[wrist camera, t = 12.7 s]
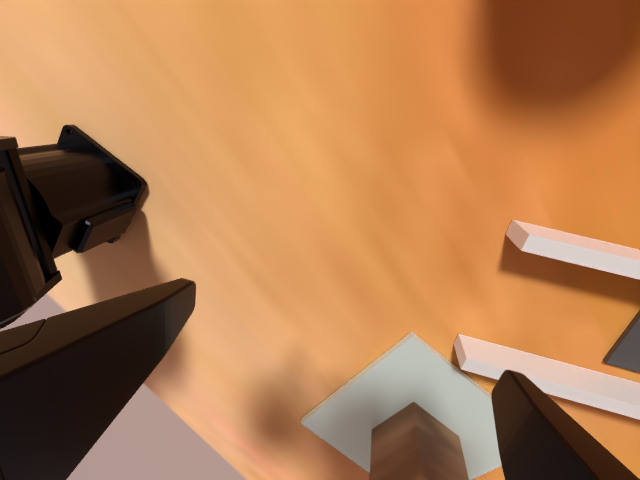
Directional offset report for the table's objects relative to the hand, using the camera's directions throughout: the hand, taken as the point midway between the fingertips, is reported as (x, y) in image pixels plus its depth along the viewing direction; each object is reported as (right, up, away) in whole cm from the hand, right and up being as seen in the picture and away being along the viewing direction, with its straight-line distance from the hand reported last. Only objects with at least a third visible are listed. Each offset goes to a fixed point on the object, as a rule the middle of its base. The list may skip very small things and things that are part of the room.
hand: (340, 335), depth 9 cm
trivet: (+7, -13, +18) cm, 24 cm away
